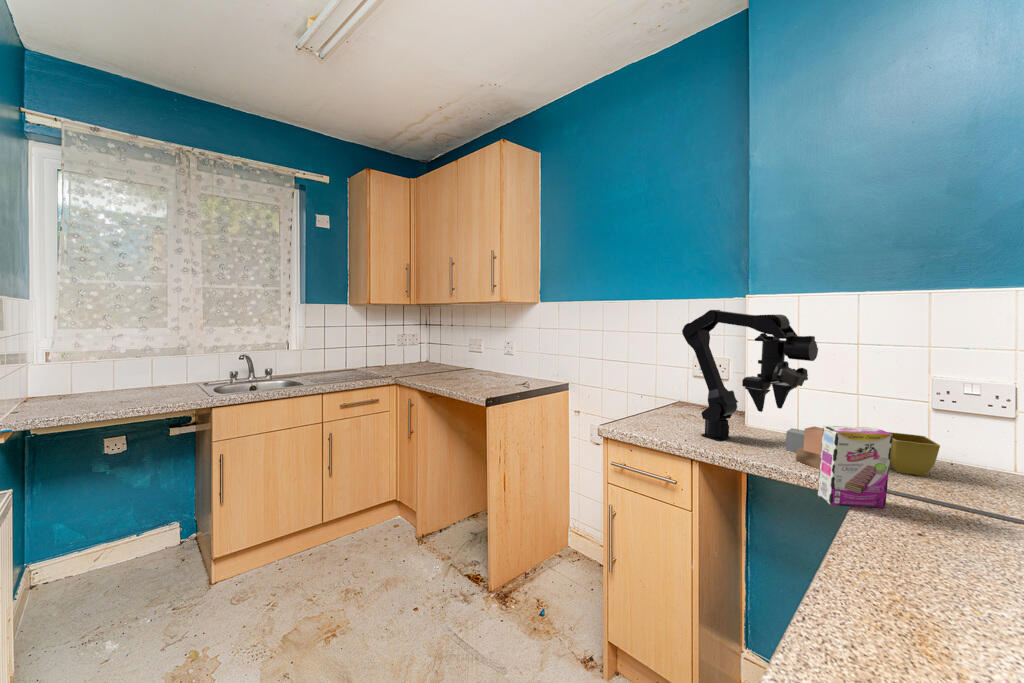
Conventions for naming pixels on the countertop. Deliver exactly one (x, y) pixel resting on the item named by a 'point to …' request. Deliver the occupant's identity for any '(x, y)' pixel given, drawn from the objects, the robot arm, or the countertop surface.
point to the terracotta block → (813, 439)
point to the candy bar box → (854, 466)
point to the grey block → (794, 439)
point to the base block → (808, 458)
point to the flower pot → (912, 453)
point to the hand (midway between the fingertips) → (770, 409)
